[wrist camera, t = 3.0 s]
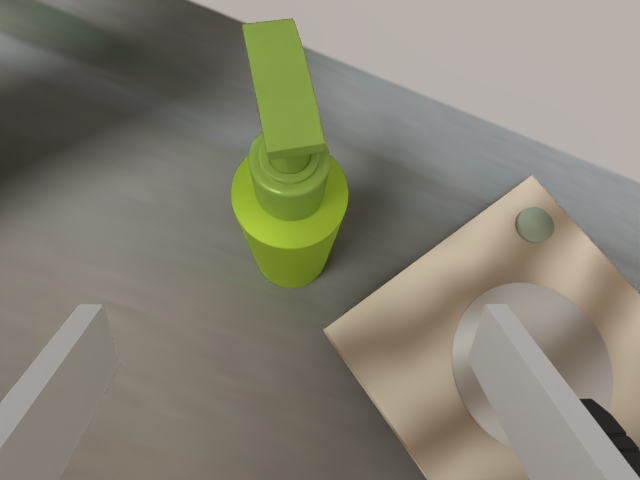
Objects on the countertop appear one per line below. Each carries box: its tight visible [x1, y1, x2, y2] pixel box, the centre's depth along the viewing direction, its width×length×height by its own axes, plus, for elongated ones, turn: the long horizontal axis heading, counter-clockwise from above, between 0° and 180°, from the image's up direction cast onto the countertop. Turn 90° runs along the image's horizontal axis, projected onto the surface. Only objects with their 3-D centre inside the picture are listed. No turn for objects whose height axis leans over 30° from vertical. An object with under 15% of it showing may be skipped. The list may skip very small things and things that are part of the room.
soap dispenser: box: [231, 19, 348, 288], centre depth 22 cm, size 6×7×20 cm
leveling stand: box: [323, 176, 640, 480], centre depth 27 cm, size 20×20×6 cm
